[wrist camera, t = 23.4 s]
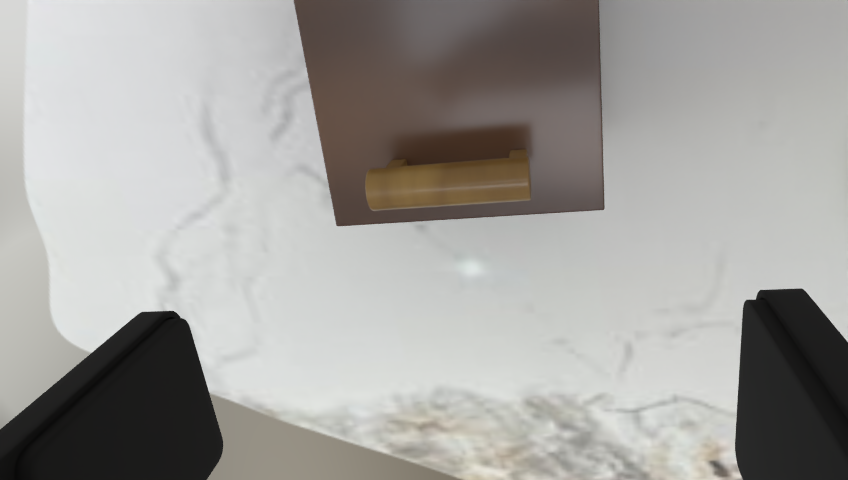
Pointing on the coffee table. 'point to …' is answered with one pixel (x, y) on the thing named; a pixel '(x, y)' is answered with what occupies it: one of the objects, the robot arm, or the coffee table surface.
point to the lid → (456, 106)
